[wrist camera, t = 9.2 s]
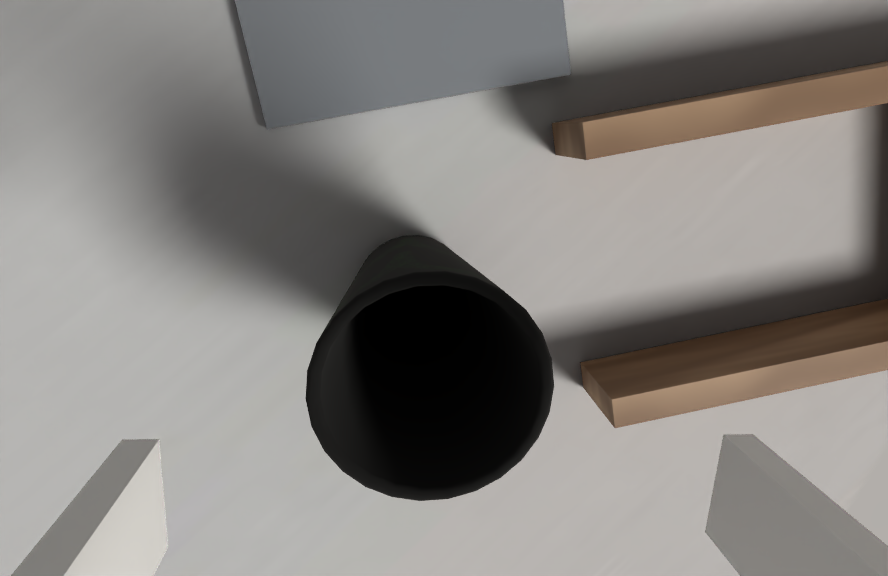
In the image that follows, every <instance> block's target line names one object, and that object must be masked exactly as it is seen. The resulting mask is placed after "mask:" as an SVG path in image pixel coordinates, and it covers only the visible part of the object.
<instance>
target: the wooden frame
mask: <svg viewBox="0 0 888 576" xmlns="http://www.w3.org/2000/svg"><path fill="white" fill-rule="evenodd" d="M885 103H888V61H885V62H879V63H874V64H868V65H863V66H858V67H852V68H847V69H841V70H836V71H831V72H825V73H820V74H814V75H809V76H804V77H798V78H793V79H787V80H782V81H776V82H771V83H766V84H760V85H755V86H749V87H744V88H739V89H733V90H728V91H722V92H717V93H712V94H706V95H701V96H695V97H690V98H684V99H679V100H674V101H668V102H663V103H657V104H652V105H647V106H641V107H636V108H630V109H625V110H620V111H614V112H609V113H603V114H598V115H593V116H587V117H582V118H576V119H571V120H565V121H560V122H555V123H552V130H553V138H554V146H555V155H560V156H566V157H572V158H578V159H584V160H589V159H594V158H599V157H605V156H610V155H615V154H620V153H626V152H631V151H636V150H642V149H647V148H652V147H658V146H663V145H668V144H673V143H679V142H684V141H689V140H695V139H700V138H705V137H710V136H716V135H721V134H726V133H732V132H737V131H742V130H748V129H753V128H758V127H763V126H769V125H774V124H779V123H785V122H790V121H795V120H801V119H806V118H811V117H816V116H822V115H827V114H832V113H838V112H843V111H848V110H853V109H859V108H864V107H869V106H875V105H880V104H885ZM580 364H581V372H582V380H583V388H584V389H585V390H586V392H587V393H588V394H589V396H590V397H591V398H592V399H593V401H594V402H595V403H596V405H597V406H598V407H599V408H600V410H601V411H602V412H603V414H604V415H605V416H606V417H607V419H608V420H609V421H610V422H611V424H612V425H613V426H614V428H618V427H623V426H628V425H632V424H637V423H642V422H646V421H651V420H656V419H660V418H665V417H670V416H674V415H679V414H684V413H688V412H693V411H698V410H702V409H707V408H712V407H716V406H721V405H726V404H730V403H735V402H740V401H744V400H749V399H754V398H758V397H763V396H768V395H772V394H777V393H782V392H786V391H791V390H796V389H800V388H805V387H810V386H814V385H819V384H824V383H828V382H833V381H838V380H842V379H847V378H852V377H856V376H861V375H866V374H870V373H875V372H880V371H885V370H888V299H884V300H879V301H874V302H869V303H864V304H860V305H855V306H850V307H845V308H840V309H835V310H831V311H826V312H821V313H816V314H811V315H807V316H802V317H797V318H792V319H787V320H782V321H778V322H773V323H768V324H763V325H758V326H753V327H749V328H744V329H739V330H734V331H729V332H725V333H720V334H715V335H710V336H705V337H700V338H696V339H691V340H686V341H681V342H676V343H671V344H667V345H662V346H657V347H652V348H647V349H642V350H638V351H633V352H628V353H623V354H618V355H614V356H609V357H604V358H599V359H594V360H589V361H585V362H580Z"/></svg>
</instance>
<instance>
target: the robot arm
mask: <svg viewBox="0 0 888 576" xmlns="http://www.w3.org/2000/svg"><path fill="white" fill-rule="evenodd" d="M705 532H706V533H707V535H708V536H709V537H710V538H711V540H712V541H713V542H714V543H715V545H716V546H717V547H718V548H719V550H720V551H721V552H722V553H723V555H724V556H725V557H726V558H727V560H728V561H729V562H730V563H731V565H732V566H733V567H734V568H735V570H736V571H737V572H738V573H739V575H740V576H888V546H887V545H886V544H885V543H884V542H882V541H881V540H880V539H879V538H877V537H876V536H875V535H874V534H873V533H871V532H870V531H869V530H868V529H866V528H865V527H864V526H863V525H862V524H861V523H859V522H858V521H857V520H856V519H854V518H853V517H852V516H851V515H850V514H848V513H847V512H846V511H845V510H844V509H842V508H841V507H840V506H839V505H838V504H836V503H835V502H834V501H833V500H832V499H830V498H829V497H828V496H827V495H826V494H824V493H823V492H822V491H821V490H819V489H818V488H817V487H816V486H815V485H813V484H812V483H811V482H810V481H809V480H807V479H806V478H805V477H804V476H803V475H801V474H800V473H799V472H798V471H797V470H795V469H794V468H793V467H792V466H790V465H789V464H788V463H787V462H786V461H784V460H783V459H782V458H781V457H780V456H778V455H777V454H776V453H775V452H774V451H772V450H771V449H770V448H769V447H768V446H766V445H765V444H764V443H763V442H761V441H760V440H759V439H758V438H757V437H755V436H754V435H753V434H742V435H723V440H722V446H721V451H720V456H719V461H718V467H717V472H716V477H715V483H714V488H713V493H712V498H711V504H710V509H709V514H708V520H707V525H706V530H705ZM167 548H168V539H167V527H166V515H165V503H164V491H163V479H162V467H161V455H160V443H159V439H139V440H122V441H121V442H120V443H119V444H118V446H117V447H116V448H115V449H114V450H113V452H112V453H111V454H110V455H109V457H108V458H107V459H106V460H105V461H104V463H103V464H102V465H101V466H100V468H99V469H98V470H97V471H96V472H95V474H94V475H93V476H92V477H91V479H90V480H89V481H88V482H87V483H86V485H85V486H84V487H83V488H82V490H81V491H80V492H79V493H78V494H77V496H76V497H75V498H74V499H73V501H72V502H71V503H70V504H69V505H68V507H67V508H66V509H65V510H64V512H63V513H62V514H61V515H60V516H59V518H58V519H57V520H56V521H55V523H54V524H53V525H52V526H51V527H50V529H49V530H48V531H47V532H46V534H45V535H44V536H43V537H42V538H41V540H40V541H39V542H38V543H37V545H36V546H35V547H34V548H33V549H32V551H31V552H30V553H29V554H28V556H27V557H26V558H25V559H24V560H23V562H22V563H21V564H20V565H19V567H18V568H17V569H16V570H15V571H14V573H13V574H12V575H11V576H154V574H155V572H156V570H157V568H158V566H159V564H160V562H161V560H162V558H163V556H164V554H165V552H166V550H167Z"/></svg>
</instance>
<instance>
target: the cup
mask: <svg viewBox="0 0 888 576" xmlns="http://www.w3.org/2000/svg"><path fill="white" fill-rule="evenodd" d="M553 389H554V380H553V369H552V358H551V356H550V353H549V350H548V347H547V345H546V342H545V339H544V336H543V334H542V332H541V330H540V329H539V328H538V326H537V325H536V323H535V322H534V320H533V319H532V318H531V316H530V315H529V313H528V312H527V310H526V309H525V308H523V307H522V306H521V305H520V304H519V303H517V302H516V301H515V300H514V299H513V298H511V297H510V296H509V295H508V294H507V293H505V292H504V291H503V290H502V289H500V288H499V287H498V286H497V285H495V284H494V283H493V282H491V281H490V280H489V279H488V278H486V277H485V276H484V275H482V274H481V273H480V272H479V271H477V270H476V269H475V268H473V267H472V266H471V265H470V264H468V263H467V262H466V261H464V260H463V259H462V258H461V257H459V256H458V255H457V254H455V253H454V252H453V251H452V250H450V249H449V248H448V247H446V246H445V245H444V244H442V243H440V242H438V241H436V240H434V239H432V238H427V237H423V236H402V237H399V238H395V239H391V240H389V241H388V242H386V243H384V244H382V245H380V246H379V247H378V248H377V249H376V250H375V251H373V252H372V253H371V254H370V255H369V257H368V258H367V260H366V261H365V263H364V264H363V266H362V267H361V269H360V271H359V272H358V274H357V276H356V278H355V279H354V281H353V283H352V284H351V286H350V288H349V289H348V291H347V293H346V294H345V296H344V298H343V299H342V301H341V303H340V304H339V306H338V308H337V309H336V311H335V313H334V315H333V316H332V318H331V320H330V321H329V323H328V325H327V326H326V328H325V330H324V331H323V333H322V335H321V336H320V338H319V340H318V341H317V343H316V346H315V349H314V352H313V355H312V358H311V361H310V364H309V367H308V370H307V386H306V402H307V407H308V412H309V416H310V421H311V426H312V428H313V430H314V432H315V434H316V436H317V438H318V440H319V442H320V444H321V445H322V447H323V449H324V451H325V452H326V453H327V454H328V456H329V457H330V458H331V459H332V460H333V461H334V462H335V463H336V464H337V466H338V467H339V468H340V469H341V470H342V471H343V472H344V473H346V474H347V475H349V476H350V477H352V478H353V479H355V480H356V481H358V482H359V483H361V484H362V485H364V486H365V487H367V488H370V489H373V490H375V491H378V492H381V493H383V494H386V495H388V496H391V497H397V498H404V499H411V500H418V501H425V500H439V499H449V498H453V497H456V496H460V495H463V494H467V493H470V492H474V491H477V490H478V489H480V488H482V487H484V486H486V485H488V484H490V483H492V482H493V481H495V480H497V479H499V478H501V477H502V476H503V475H504V474H506V473H507V472H508V471H509V470H510V469H511V468H513V467H514V466H515V465H516V464H517V463H518V462H520V461H521V460H522V459H523V457H524V456H525V455H526V453H527V452H528V451H529V450H530V448H531V447H532V446H533V444H534V443H535V442H536V440H537V439H538V438H539V435H540V433H541V431H542V428H543V426H544V424H545V422H546V419H547V417H548V415H549V412H550V406H551V401H552V395H553Z"/></svg>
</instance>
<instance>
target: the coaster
mask: <svg viewBox="0 0 888 576" xmlns="http://www.w3.org/2000/svg"><path fill="white" fill-rule="evenodd" d="M235 4H236V8H237V12H238V16H239V20H240V24H241V28H242V32H243V36H244V40H245V44H246V48H247V52H248V56H249V60H250V64H251V68H252V72H253V76H254V80H255V84H256V88H257V92H258V96H259V100H260V104H261V108H262V112H263V116H264V120H265V124H266V128H267V129H274V128H279V127H285V126H290V125H296V124H302V123H307V122H313V121H318V120H324V119H329V118H335V117H340V116H346V115H351V114H357V113H362V112H368V111H373V110H379V109H385V108H390V107H396V106H401V105H407V104H412V103H418V102H423V101H429V100H434V99H440V98H445V97H451V96H456V95H462V94H468V93H473V92H479V91H484V90H490V89H495V88H501V87H506V86H512V85H517V84H523V83H528V82H534V81H539V80H545V79H551V78H556V77H562V76H567V75H571V68H570V59H569V50H568V41H567V31H566V22H565V13H564V4H563V0H235Z"/></svg>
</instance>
